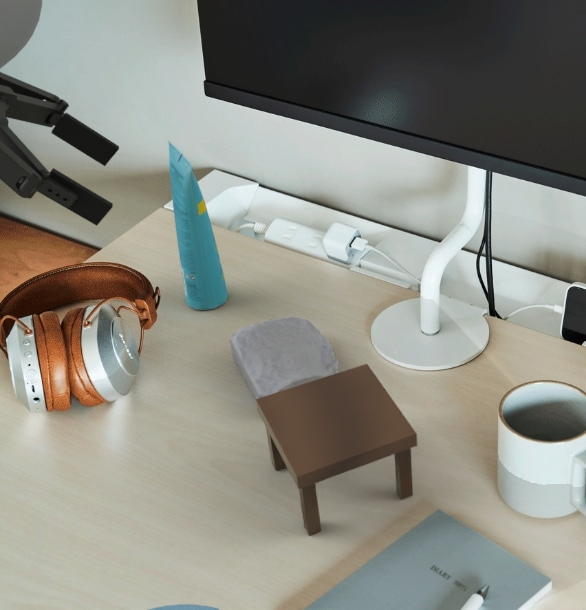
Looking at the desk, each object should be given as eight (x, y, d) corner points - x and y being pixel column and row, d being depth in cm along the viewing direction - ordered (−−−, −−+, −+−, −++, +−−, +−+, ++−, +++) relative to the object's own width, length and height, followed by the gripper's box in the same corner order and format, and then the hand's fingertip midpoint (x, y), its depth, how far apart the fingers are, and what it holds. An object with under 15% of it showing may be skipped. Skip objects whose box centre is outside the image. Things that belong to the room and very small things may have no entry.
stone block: (308, 344, 106) (222, 356, 101) (313, 309, 104) (225, 320, 99) (349, 407, 98) (259, 424, 93) (355, 371, 96) (263, 387, 91)
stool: (306, 541, 81) (296, 476, 76) (266, 461, 89) (255, 399, 84) (419, 496, 85) (416, 433, 81) (371, 424, 93) (367, 363, 88)
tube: (240, 306, 109) (215, 159, 98) (202, 321, 107) (171, 172, 96) (211, 278, 114) (184, 135, 103) (174, 292, 112) (142, 147, 100)
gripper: (-86, 45, 98) (96, 158, 110) (-151, 145, 78) (79, 269, 91) (-47, -9, 96) (133, 112, 108) (-104, 80, 77) (124, 216, 89)
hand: (109, 184), depth 99 cm, fingers open, 13 cm apart
